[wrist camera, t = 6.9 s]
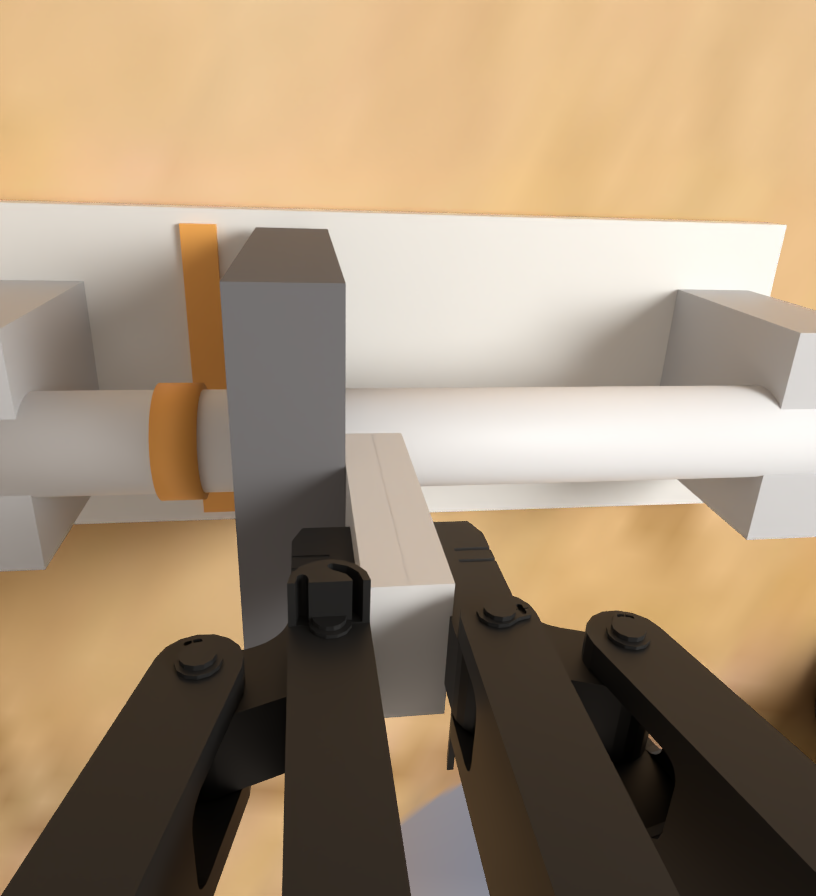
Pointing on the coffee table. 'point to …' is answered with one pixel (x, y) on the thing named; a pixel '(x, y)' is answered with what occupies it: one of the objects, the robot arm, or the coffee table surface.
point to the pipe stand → (409, 363)
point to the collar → (283, 407)
